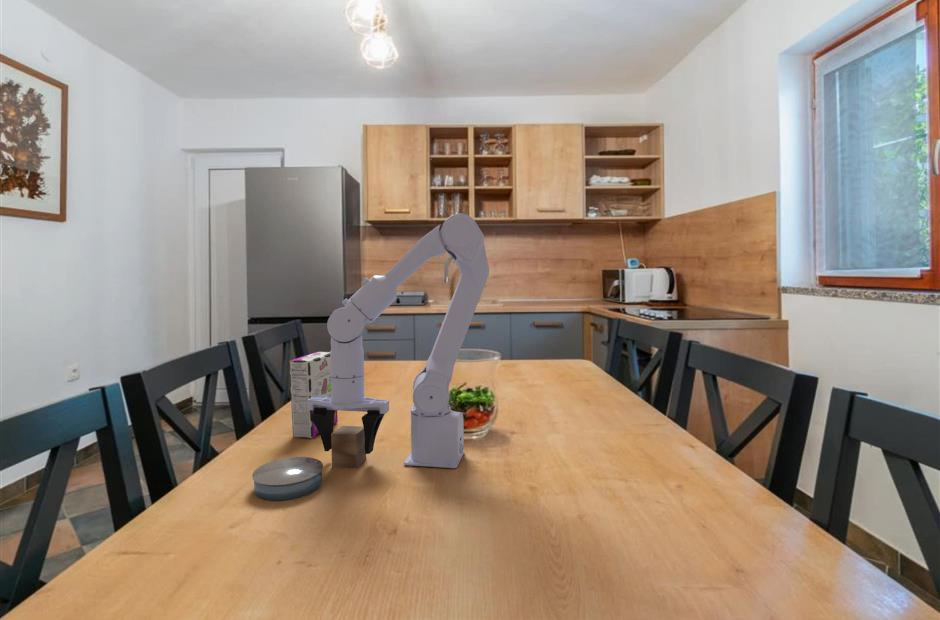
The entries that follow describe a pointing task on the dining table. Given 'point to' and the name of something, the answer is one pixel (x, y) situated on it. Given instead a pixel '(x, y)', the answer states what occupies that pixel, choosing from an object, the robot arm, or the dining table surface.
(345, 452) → the walnut block
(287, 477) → the biscuit tin
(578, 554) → the dining table surface
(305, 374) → the candy bar box
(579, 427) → the dining table surface
